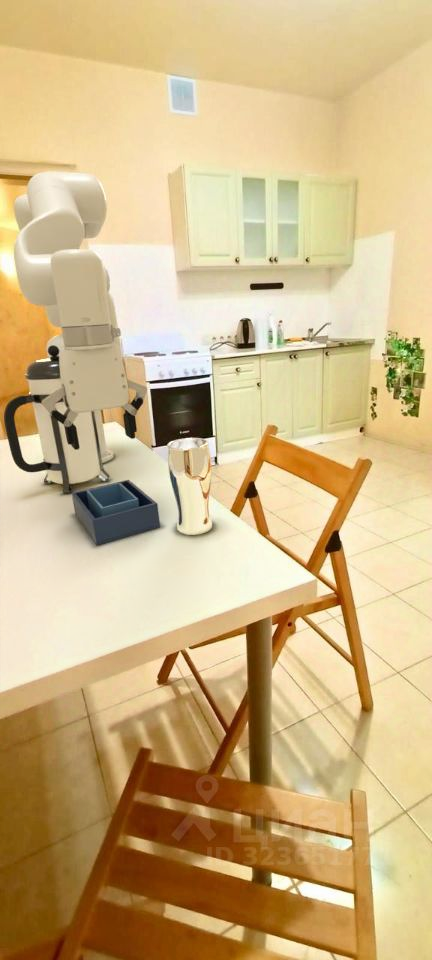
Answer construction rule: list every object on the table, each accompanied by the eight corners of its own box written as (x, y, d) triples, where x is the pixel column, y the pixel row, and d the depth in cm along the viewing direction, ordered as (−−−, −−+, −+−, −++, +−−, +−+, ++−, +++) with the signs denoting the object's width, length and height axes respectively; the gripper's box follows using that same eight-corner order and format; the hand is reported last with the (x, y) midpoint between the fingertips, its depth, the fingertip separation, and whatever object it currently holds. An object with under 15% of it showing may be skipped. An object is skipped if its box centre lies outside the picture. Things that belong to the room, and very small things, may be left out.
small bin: (89, 512, 84) (86, 490, 83) (123, 504, 87) (119, 482, 86) (105, 532, 76) (101, 508, 74) (141, 522, 79) (138, 498, 77)
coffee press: (56, 471, 110) (31, 344, 100) (119, 470, 108) (100, 340, 98) (19, 499, 94) (-15, 351, 83) (92, 498, 92) (66, 347, 81)
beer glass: (168, 524, 78) (159, 442, 73) (204, 515, 81) (198, 435, 76) (184, 540, 73) (176, 452, 67) (222, 529, 76) (217, 444, 70)
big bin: (75, 514, 85) (71, 492, 83) (131, 500, 90) (128, 479, 88) (96, 545, 73) (92, 520, 71) (160, 527, 78) (157, 503, 76)
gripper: (132, 332, 77) (143, 428, 84) (26, 341, 70) (47, 446, 76) (148, 334, 71) (158, 437, 78) (34, 344, 63) (56, 458, 70)
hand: (103, 442), depth 77 cm, fingers open, 9 cm apart
